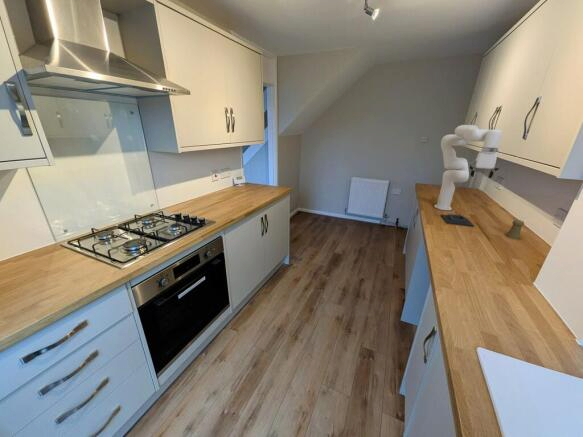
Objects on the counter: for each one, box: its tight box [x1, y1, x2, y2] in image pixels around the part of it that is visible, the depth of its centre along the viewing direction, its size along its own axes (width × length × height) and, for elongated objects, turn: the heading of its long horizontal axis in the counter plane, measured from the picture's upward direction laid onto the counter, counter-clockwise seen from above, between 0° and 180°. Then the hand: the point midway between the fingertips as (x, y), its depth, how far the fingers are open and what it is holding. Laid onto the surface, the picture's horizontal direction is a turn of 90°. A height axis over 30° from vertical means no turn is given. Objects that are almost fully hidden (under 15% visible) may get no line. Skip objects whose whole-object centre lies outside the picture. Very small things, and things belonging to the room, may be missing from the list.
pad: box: [440, 213, 474, 228], centre depth 171 cm, size 16×16×3 cm
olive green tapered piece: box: [506, 219, 525, 240], centre depth 146 cm, size 6×6×11 cm
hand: (480, 177), depth 156 cm, fingers open, 9 cm apart
